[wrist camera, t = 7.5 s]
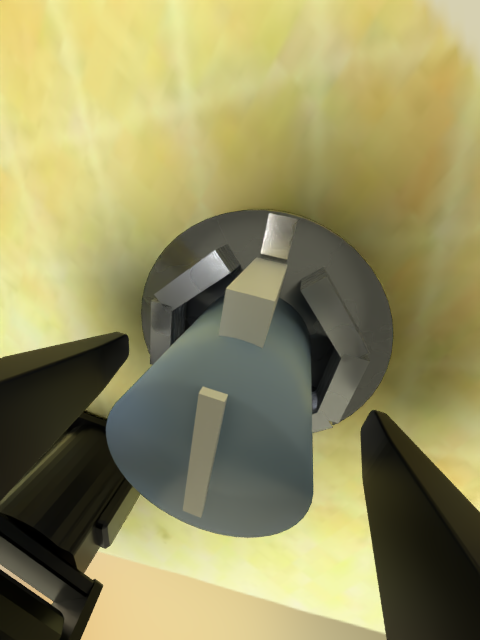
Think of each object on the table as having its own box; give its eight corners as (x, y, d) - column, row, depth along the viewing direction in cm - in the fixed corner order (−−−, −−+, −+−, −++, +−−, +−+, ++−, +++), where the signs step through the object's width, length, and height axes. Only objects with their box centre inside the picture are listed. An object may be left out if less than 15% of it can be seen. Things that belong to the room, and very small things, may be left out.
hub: (151, 387, 15) (125, 416, 13) (155, 185, 10) (115, 179, 8) (333, 447, 14) (337, 491, 12) (440, 243, 9) (483, 256, 7)
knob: (292, 402, 12) (278, 571, 6) (194, 371, 13) (106, 500, 7) (339, 276, 9) (385, 386, 4) (209, 246, 10) (83, 299, 4)
